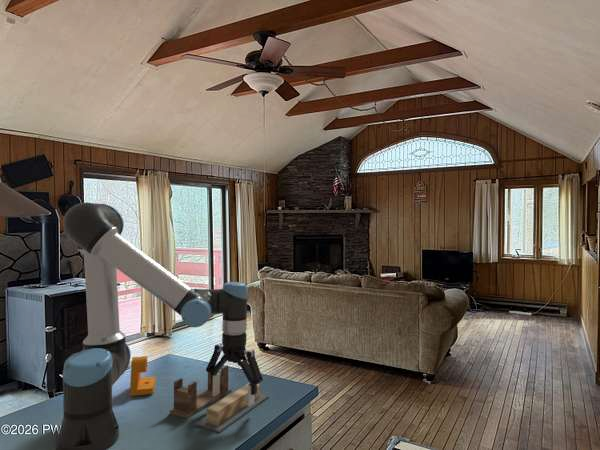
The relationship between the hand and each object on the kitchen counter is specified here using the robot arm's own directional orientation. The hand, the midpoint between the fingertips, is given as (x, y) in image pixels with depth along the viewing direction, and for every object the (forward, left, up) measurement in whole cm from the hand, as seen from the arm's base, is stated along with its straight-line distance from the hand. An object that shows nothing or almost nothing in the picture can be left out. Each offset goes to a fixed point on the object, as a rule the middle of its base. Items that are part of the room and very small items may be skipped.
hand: (233, 399), depth 128 cm
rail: (0, -1, -3) cm, 3 cm away
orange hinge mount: (-2, +37, -4) cm, 37 cm away
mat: (0, 0, -3) cm, 4 cm away
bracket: (0, +13, -3) cm, 13 cm away
